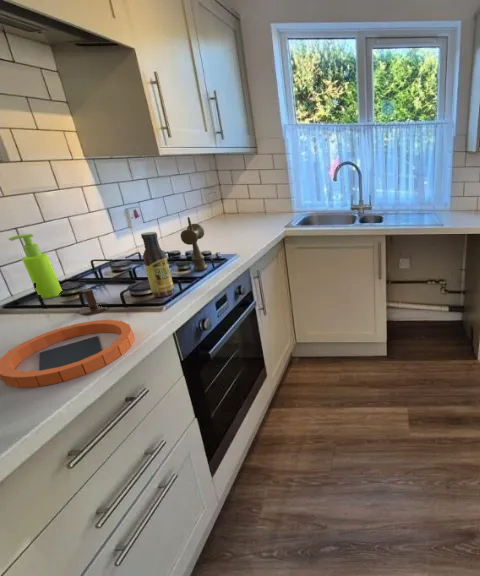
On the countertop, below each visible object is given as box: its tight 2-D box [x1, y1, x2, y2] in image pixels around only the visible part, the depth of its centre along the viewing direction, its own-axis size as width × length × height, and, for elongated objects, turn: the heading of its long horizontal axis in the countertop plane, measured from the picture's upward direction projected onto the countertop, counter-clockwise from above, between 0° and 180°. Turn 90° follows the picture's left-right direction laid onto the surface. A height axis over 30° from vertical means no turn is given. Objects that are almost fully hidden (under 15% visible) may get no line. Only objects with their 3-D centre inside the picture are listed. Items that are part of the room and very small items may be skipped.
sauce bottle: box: [140, 231, 175, 298], centre depth 111 cm, size 7×6×20 cm
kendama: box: [180, 216, 209, 272], centre depth 132 cm, size 6×10×20 cm, turn 12°
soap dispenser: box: [8, 233, 63, 300], centre depth 113 cm, size 6×7×20 cm
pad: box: [38, 335, 103, 371], centre depth 84 cm, size 11×11×1 cm
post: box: [78, 288, 109, 316], centre depth 105 cm, size 7×7×6 cm
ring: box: [0, 319, 135, 389], centre depth 83 cm, size 24×24×3 cm
